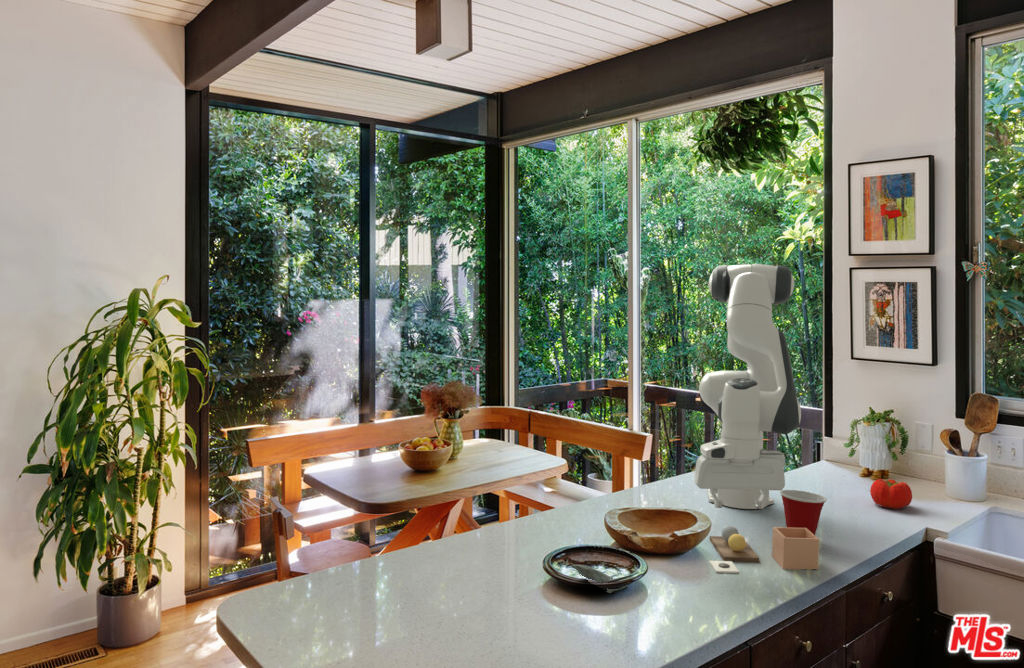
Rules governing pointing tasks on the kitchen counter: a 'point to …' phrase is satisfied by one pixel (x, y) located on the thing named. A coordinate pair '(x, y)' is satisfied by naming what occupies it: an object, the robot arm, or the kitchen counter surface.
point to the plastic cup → (802, 509)
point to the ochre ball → (737, 542)
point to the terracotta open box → (795, 548)
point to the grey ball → (728, 532)
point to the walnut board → (731, 555)
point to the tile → (724, 567)
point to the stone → (594, 575)
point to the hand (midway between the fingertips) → (738, 507)
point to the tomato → (891, 493)
